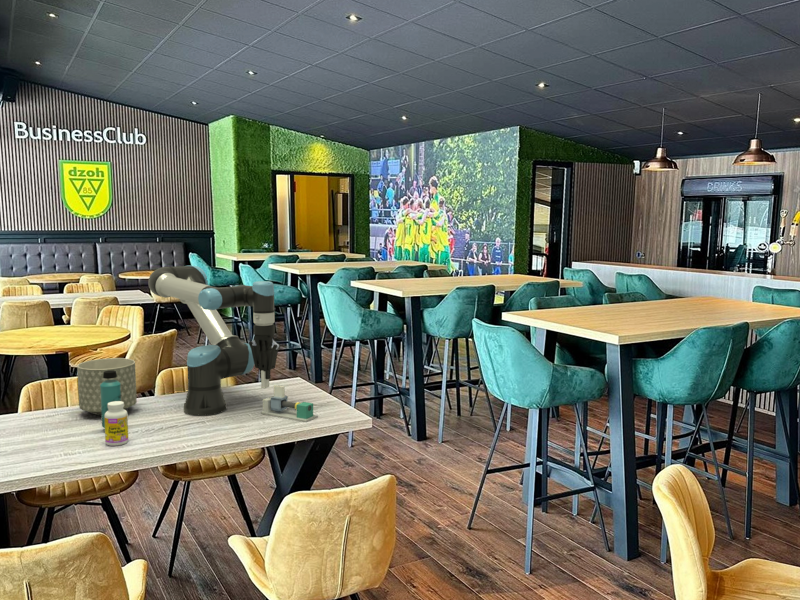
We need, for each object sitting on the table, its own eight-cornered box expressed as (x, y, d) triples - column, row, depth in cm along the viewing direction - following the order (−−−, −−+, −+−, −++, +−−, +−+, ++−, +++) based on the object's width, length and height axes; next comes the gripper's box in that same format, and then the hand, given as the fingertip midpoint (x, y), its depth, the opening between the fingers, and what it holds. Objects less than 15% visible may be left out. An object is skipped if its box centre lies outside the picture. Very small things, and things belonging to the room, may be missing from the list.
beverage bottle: (102, 434, 213) (99, 374, 210) (101, 428, 219) (98, 369, 216) (123, 431, 216) (121, 372, 213) (122, 425, 222) (119, 368, 219)
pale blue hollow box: (270, 409, 236) (270, 386, 235) (278, 406, 240) (278, 384, 239) (279, 411, 234) (279, 388, 233) (287, 408, 238) (287, 385, 237)
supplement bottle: (105, 447, 200) (103, 406, 199) (105, 440, 206) (103, 401, 205) (128, 444, 203) (127, 404, 201) (128, 438, 209) (126, 399, 207)
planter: (138, 403, 249) (136, 356, 247) (135, 417, 231) (133, 367, 229) (83, 407, 243) (81, 359, 241) (75, 422, 225) (73, 370, 223)
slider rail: (261, 413, 237) (260, 399, 236) (273, 409, 243) (273, 395, 242) (306, 422, 227) (305, 407, 227) (317, 417, 233) (317, 402, 233)
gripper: (243, 324, 236) (244, 387, 239) (271, 326, 230) (272, 392, 233) (256, 321, 243) (258, 383, 245) (284, 323, 237) (285, 387, 239)
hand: (265, 387), depth 239 cm, fingers closed
